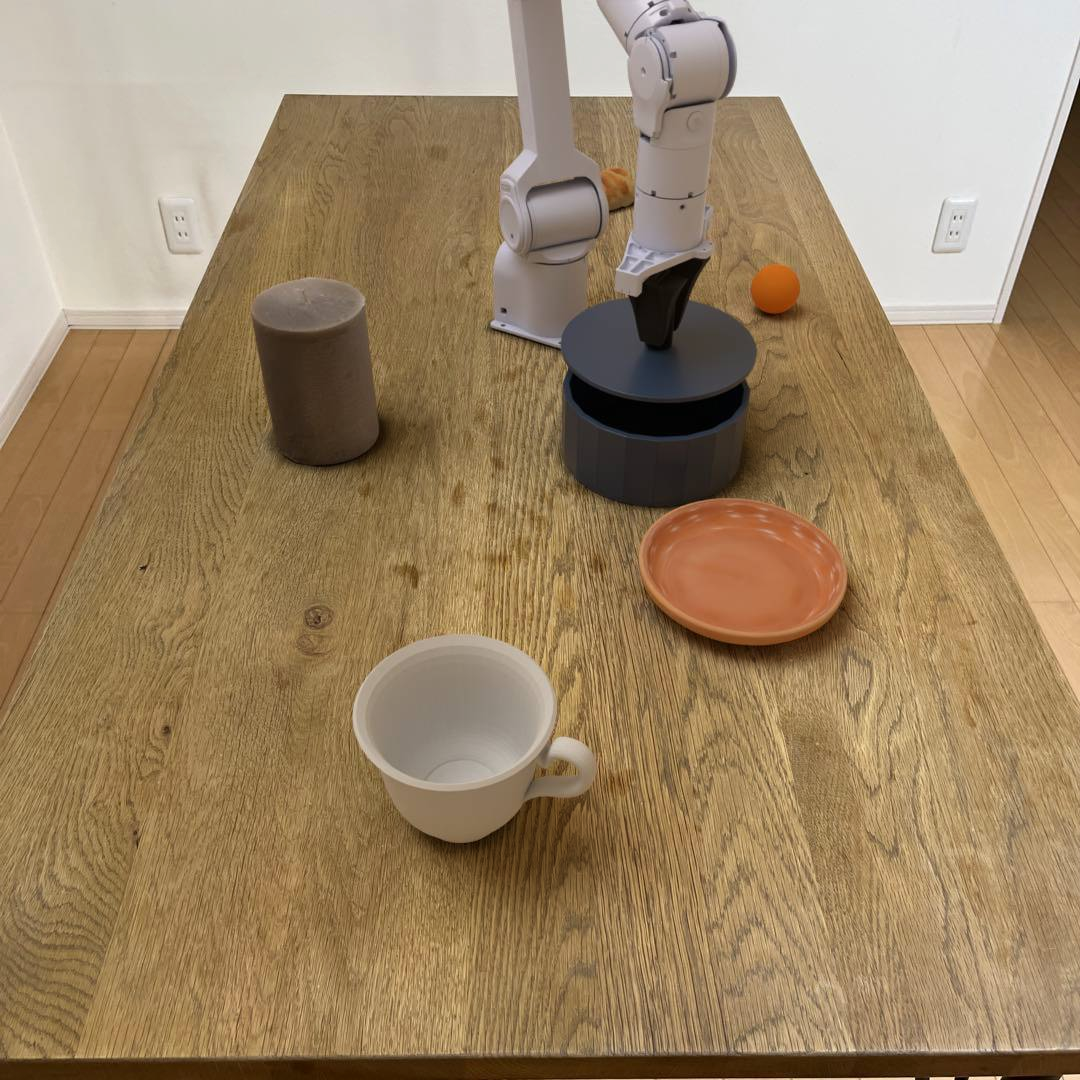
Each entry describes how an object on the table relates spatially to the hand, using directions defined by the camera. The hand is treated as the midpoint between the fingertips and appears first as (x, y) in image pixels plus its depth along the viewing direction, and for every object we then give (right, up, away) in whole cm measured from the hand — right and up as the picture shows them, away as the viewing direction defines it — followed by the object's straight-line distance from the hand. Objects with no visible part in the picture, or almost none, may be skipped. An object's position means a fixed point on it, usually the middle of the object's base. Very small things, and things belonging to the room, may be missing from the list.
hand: (658, 334), depth 97 cm
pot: (0, -10, +4) cm, 11 cm away
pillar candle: (-30, -8, +6) cm, 32 cm away
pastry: (-2, +25, +45) cm, 52 cm away
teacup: (-14, -36, -25) cm, 46 cm away
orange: (+15, +9, +22) cm, 28 cm away
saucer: (+5, -22, -9) cm, 24 cm away
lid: (0, -1, +1) cm, 1 cm away
